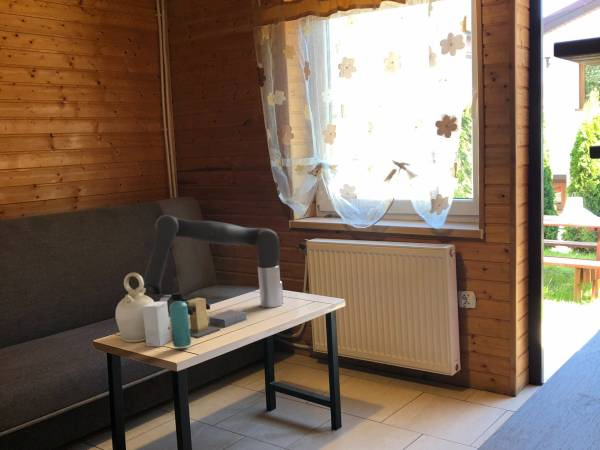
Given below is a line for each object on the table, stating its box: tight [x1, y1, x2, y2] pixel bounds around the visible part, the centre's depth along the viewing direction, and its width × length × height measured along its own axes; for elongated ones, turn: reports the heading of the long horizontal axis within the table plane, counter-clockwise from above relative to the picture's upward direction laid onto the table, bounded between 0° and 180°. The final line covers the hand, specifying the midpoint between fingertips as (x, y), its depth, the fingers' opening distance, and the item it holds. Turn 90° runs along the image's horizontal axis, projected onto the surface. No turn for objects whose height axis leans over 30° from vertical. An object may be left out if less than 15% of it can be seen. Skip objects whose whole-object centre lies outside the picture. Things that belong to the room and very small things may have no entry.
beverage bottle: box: [169, 291, 192, 348], centre depth 225 cm, size 6×7×20 cm
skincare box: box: [143, 302, 172, 348], centre depth 233 cm, size 8×6×15 cm
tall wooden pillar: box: [187, 297, 209, 333], centre depth 245 cm, size 5×4×12 cm
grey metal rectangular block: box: [208, 309, 248, 328], centre depth 256 cm, size 12×9×3 cm
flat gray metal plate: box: [190, 325, 221, 339], centre depth 245 cm, size 11×11×1 cm
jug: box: [115, 272, 154, 344], centre depth 242 cm, size 15×16×25 cm
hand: (201, 309), depth 243 cm, fingers open, 8 cm apart
